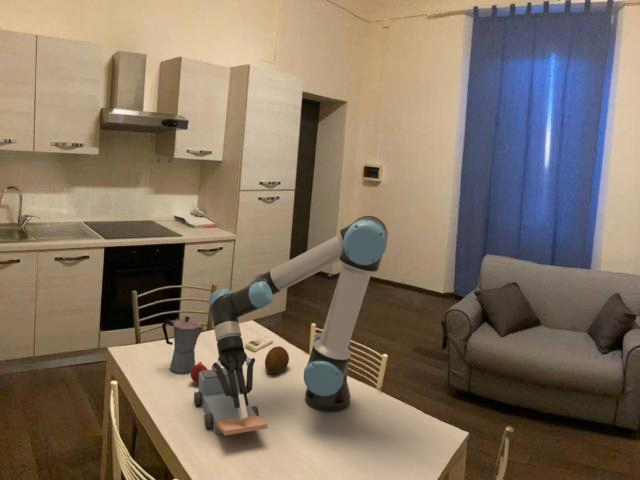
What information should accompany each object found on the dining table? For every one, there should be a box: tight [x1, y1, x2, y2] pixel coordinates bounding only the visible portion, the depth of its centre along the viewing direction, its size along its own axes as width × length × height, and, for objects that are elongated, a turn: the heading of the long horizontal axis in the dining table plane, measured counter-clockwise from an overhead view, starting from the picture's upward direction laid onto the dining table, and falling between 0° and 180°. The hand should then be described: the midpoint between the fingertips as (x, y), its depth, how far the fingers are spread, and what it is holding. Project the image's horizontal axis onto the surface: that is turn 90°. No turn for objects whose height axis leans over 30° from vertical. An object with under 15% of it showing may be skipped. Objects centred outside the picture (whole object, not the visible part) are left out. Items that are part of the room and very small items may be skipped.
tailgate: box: [216, 415, 268, 436], centre depth 151 cm, size 2×12×10 cm
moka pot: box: [161, 316, 205, 374], centre depth 192 cm, size 10×15×20 cm, turn 89°
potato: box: [264, 346, 290, 375], centre depth 198 cm, size 8×12×9 cm
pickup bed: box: [193, 367, 260, 434], centre depth 165 cm, size 22×16×10 cm
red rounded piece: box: [189, 361, 208, 385], centre depth 183 cm, size 6×6×8 cm
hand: (244, 418), depth 148 cm, fingers closed
